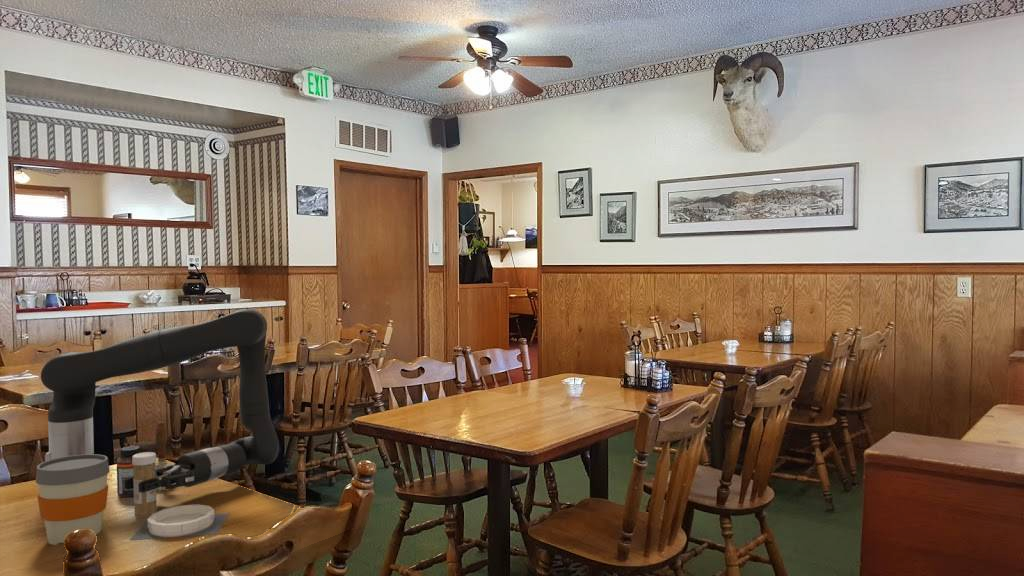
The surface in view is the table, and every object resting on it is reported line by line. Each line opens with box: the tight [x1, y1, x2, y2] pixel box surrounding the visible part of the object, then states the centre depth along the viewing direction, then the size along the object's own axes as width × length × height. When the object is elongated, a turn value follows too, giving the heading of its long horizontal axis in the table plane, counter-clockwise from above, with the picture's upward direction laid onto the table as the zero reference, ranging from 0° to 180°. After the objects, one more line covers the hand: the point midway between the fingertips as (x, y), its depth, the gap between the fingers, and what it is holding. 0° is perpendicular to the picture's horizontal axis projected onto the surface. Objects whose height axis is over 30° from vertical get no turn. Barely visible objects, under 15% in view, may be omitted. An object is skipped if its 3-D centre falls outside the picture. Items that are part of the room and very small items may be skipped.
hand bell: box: [155, 421, 172, 492], centre depth 172 cm, size 8×8×16 cm
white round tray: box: [146, 503, 215, 538], centre depth 143 cm, size 12×12×2 cm
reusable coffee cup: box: [35, 453, 111, 546], centre depth 139 cm, size 13×13×15 cm
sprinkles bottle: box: [132, 451, 158, 518], centre depth 151 cm, size 5×5×14 cm
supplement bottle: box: [116, 445, 141, 499], centre depth 165 cm, size 6×6×11 cm
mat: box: [129, 513, 230, 541], centre depth 143 cm, size 16×12×1 cm
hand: (132, 486), depth 148 cm, fingers closed on sprinkles bottle, 4 cm apart
